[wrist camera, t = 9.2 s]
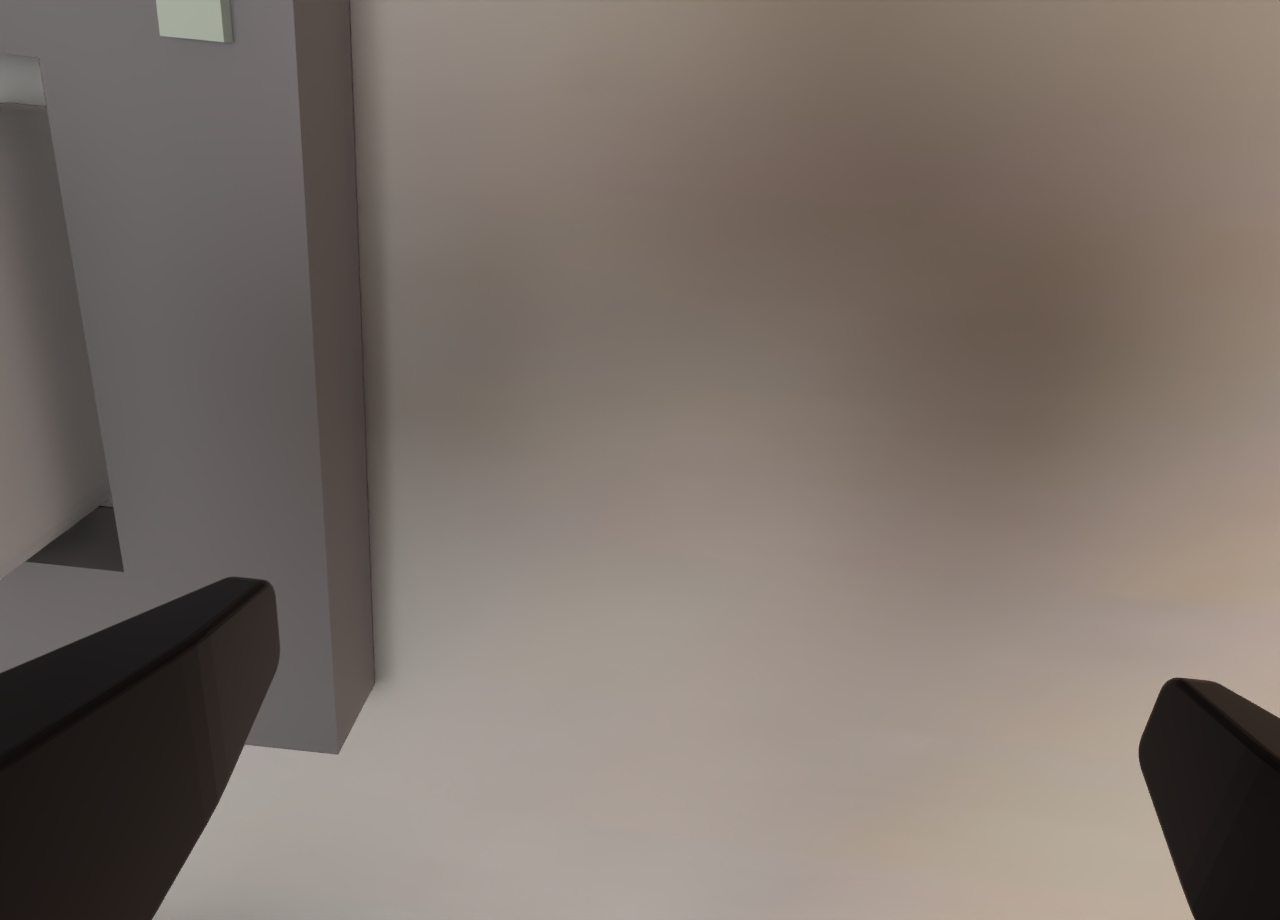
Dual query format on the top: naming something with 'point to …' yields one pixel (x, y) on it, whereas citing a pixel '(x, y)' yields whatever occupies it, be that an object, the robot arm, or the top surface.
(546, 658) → the top surface
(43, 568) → the drive dock
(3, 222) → the hard drive
